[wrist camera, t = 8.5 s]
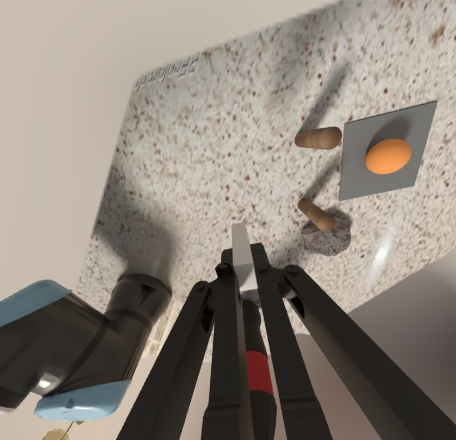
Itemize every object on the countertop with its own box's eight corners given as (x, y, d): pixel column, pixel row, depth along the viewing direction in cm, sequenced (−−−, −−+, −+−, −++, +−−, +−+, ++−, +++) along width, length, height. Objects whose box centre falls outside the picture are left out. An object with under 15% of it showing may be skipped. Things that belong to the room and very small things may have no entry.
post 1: (295, 148, 29) (320, 151, 21) (294, 132, 28) (320, 129, 20) (310, 145, 29) (341, 146, 21) (309, 128, 28) (342, 124, 20)
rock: (293, 231, 37) (300, 241, 34) (340, 206, 34) (353, 214, 31) (308, 257, 40) (316, 268, 37) (352, 236, 38) (366, 246, 34)
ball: (408, 167, 28) (367, 169, 32) (417, 132, 25) (371, 139, 29) (404, 178, 25) (360, 178, 29) (413, 140, 22) (363, 146, 26)
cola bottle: (226, 312, 50) (223, 516, 23) (236, 295, 46) (246, 510, 19) (252, 318, 51) (277, 518, 24) (263, 301, 47) (308, 514, 20)
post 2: (297, 211, 35) (318, 232, 27) (297, 200, 34) (318, 219, 25) (310, 208, 34) (335, 229, 26) (310, 197, 33) (336, 215, 25)
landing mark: (338, 200, 33) (339, 200, 33) (344, 124, 27) (345, 124, 27) (412, 185, 32) (414, 186, 32) (436, 101, 26) (437, 101, 26)
